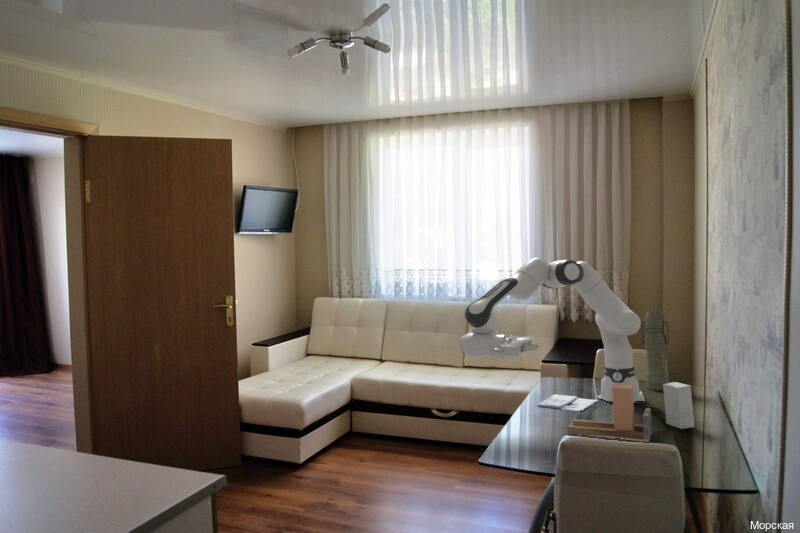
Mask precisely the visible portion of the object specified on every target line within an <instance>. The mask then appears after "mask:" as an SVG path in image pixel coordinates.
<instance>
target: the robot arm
mask: <svg viewBox="0 0 800 533" xmlns="http://www.w3.org/2000/svg"><path fill="white" fill-rule="evenodd" d="M541 286H543V287H545V288H547V289H560V288H563V287H564V288H565V287H567V286H568V287H569V286H573V287H574V289H575V290H576V291H577V292H578V294H579V295H580V296H581V298H582V299H583V300H584V302H585V303H586V305H587V306H588V307H589V308H590V309H591V310H593V311H594V313H595V316H594V320H595V324H596V325H597V327H598V329H599V332H600V336H601V340H602V341H601V342H602V344H603V351H604V366H603V367H604V369H603V371H604V376H603V378H601V381H600V387H601V388H600V394H599V395H597V399H596V400H601V399H603V400H602V401H604V400H606V401H612V402H613V391H612V387H613V386H614V384H619V385H633V400H634V402H635V401H643V402H642V403H644V402H646V401H645V399H646V398H645V397H644V394H643V392H642V391H641V389H640V387H639V381H638V379H637V378H636V376H635V375H636V369H635V366H634V357H633V355H634V353H633V347H632V345H631V344H630V341H629V339H628V336H632V335H635V334H636V333H637V332H638V331H640V329H641V323H642V321H641V318H640V317H639V315H638V314H636V312H634V311H633V310H632V309H630V308H629V307H628V305H627V304H626V303H624V301H622V299H620V298H619V297H618V296H617V295H616V294H615V293H614V292H613V291H612V290H611V288H610V287H609V285H608V284H607V283H606V281H605V280H603V278H602V276H601V275H600V274H599V273H598V272H597V271H596V270H595V269H594V267H592V266H591V265H590V264H589V263H588V262H587V261H584V260H578V261H575V260H572V259H565V258H564V259H558V260H555V261H553V262H552V261H551V262H549V263H548V262H547V261H546V260H545V259H542V257H532V258H531V259H529V260H528V261H526V263H524V264H522V266H520V268H519V269H517V271H516V272H515V273H514V274H513V275H511V276H507V277H505V278H502V279H501V280H500V281H499V282H498V283H496V284H495V285H494V286H493V287H491V289H489V290H488V291H487V292H485V293H484V294H483V295H482V296H481V297H479V298H478V299H476V300H475V301H473V302H471V303H470V304H469V305H468V306H467V307H466V309H465V311H464V318H465V320H466V321H467V323H468V324H469V325H470V326H471V328H470V330H469V331H468V332H467V333H466V334H464V335H462V336H461V337H460V348H461V351H462V352H463V354H464V355H466V356H468V357H473V358H486V357H489V358H493V359H507V358H508V357H518V356H520V355H521V354H523V353H525V352H528V351H537V350H538V349H539V348H540V347H539V346H540V345H539V344H538V343H533V339H532V338H531V337H525V336H513V335H512V334H499V333H500V326H499V323H498V321H497V319H496V317H495V315H494V314H493V311H494V308H495V307H496V306H497V305H498V304H499V303H500V302H502V301H503V300H504V299H505V298H506V297H508V296H510V297H512V298H515V299H516V300H518V301H519V300H520V301H525V300H528V299H530V298H531V297H532V296H533V295H535V294H536V292H537V291H538V290H539V289H540V288H541ZM606 401H605V402H606Z"/></svg>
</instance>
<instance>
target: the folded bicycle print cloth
mask: <svg viewBox="0 0 800 533" xmlns="http://www.w3.org/2000/svg"><path fill="white" fill-rule="evenodd" d="M597 401H599V402H600V399H589V398H581V397H578V396H576V395H575V396H574V395H563V394H557V393H555V394H553V395H551V396H549V397H547V398H545V399H544V400H542V401H541V402H539V403H537V404H536V406H537V407H542V408H551V409H557V410H562V411H563V410H564V411H572V412H573V411H574V412H580V410H584V409H585V408H587V407H589V406H591V405H592V406H594V405H595V404H594V403H595V402H597ZM568 404H569V405H568ZM570 404H571V405H570ZM593 404H594V405H593ZM592 406H591V407H592ZM589 408H590V407H589Z"/></svg>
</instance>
